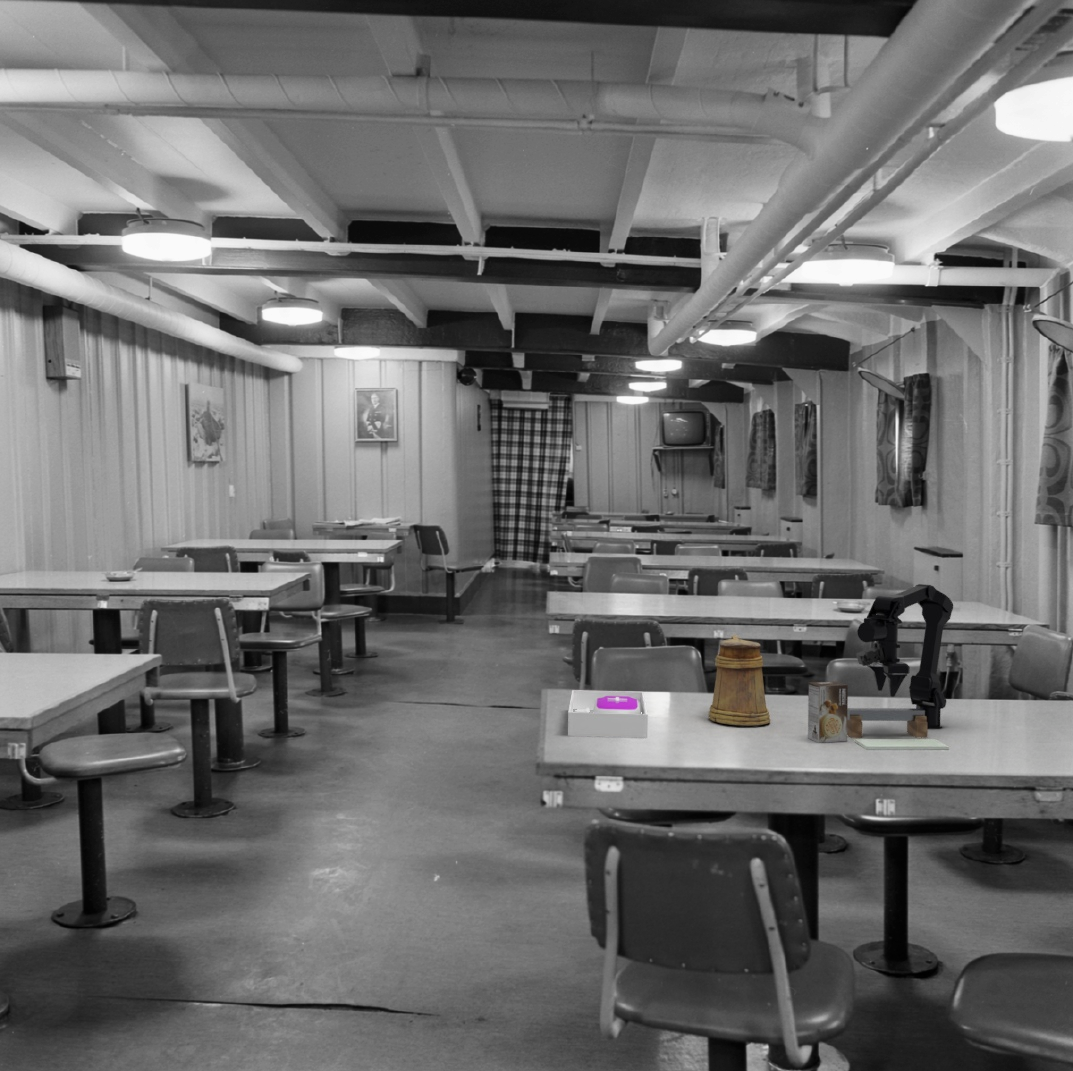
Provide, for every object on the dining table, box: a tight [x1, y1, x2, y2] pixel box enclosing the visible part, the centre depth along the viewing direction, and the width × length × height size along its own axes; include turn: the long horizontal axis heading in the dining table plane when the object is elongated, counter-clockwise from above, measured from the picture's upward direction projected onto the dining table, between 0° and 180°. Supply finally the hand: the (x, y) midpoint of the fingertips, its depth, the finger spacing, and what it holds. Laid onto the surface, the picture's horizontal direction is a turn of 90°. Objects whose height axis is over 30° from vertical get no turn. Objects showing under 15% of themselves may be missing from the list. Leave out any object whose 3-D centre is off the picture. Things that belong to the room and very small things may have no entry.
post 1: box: [847, 716, 863, 739], centre depth 302 cm, size 3×7×6 cm, turn 3°
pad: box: [854, 738, 950, 751], centre depth 290 cm, size 23×9×1 cm, turn 93°
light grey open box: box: [567, 689, 649, 739], centre depth 313 cm, size 22×35×7 cm, turn 176°
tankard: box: [708, 634, 771, 726], centre depth 321 cm, size 18×24×25 cm
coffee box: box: [807, 681, 849, 744], centre depth 295 cm, size 9×6×16 cm
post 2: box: [906, 716, 928, 739], centre depth 303 cm, size 3×7×6 cm, turn 3°
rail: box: [847, 707, 925, 722], centre depth 302 cm, size 22×3×3 cm, turn 93°
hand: (885, 693), depth 302 cm, fingers open, 9 cm apart
